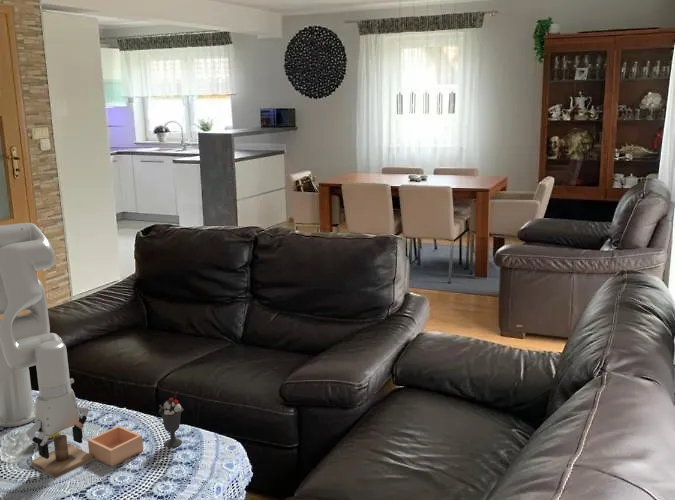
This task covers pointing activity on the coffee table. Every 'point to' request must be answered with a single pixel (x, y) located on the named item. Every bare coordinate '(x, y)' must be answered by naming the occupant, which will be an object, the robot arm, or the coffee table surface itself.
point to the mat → (62, 474)
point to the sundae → (171, 420)
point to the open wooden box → (115, 445)
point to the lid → (62, 458)
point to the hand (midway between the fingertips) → (61, 449)
